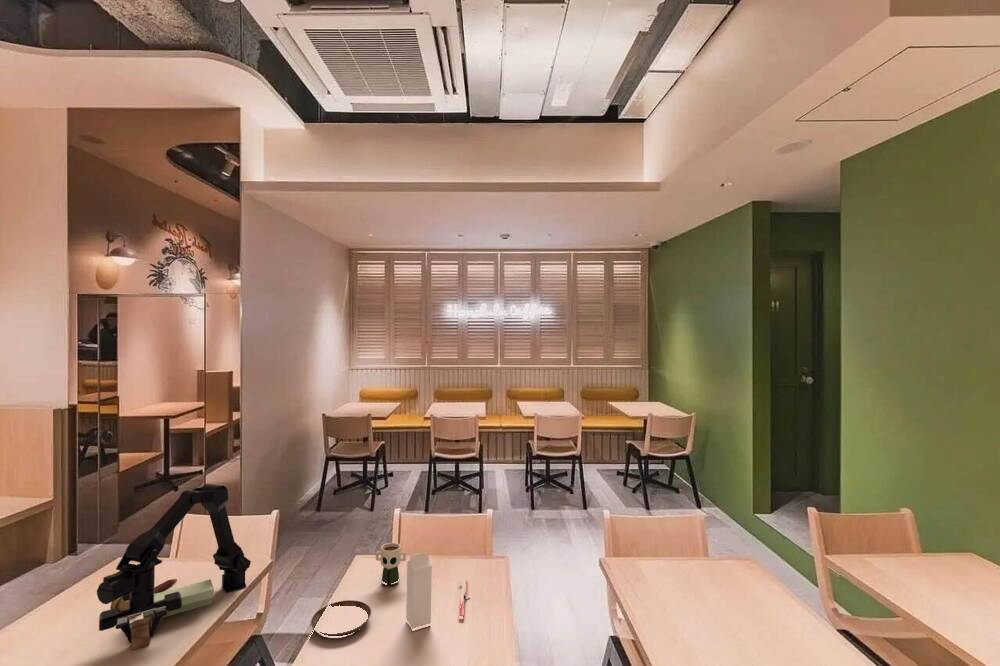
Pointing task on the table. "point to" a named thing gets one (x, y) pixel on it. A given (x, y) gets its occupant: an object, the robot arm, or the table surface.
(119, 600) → the gavel
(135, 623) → the pusher tool
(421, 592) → the milk
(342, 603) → the plant saucer
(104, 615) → the robot arm
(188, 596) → the plinth shelf
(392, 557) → the character mug
